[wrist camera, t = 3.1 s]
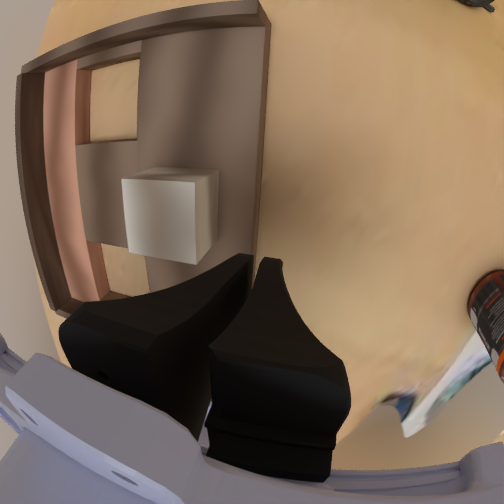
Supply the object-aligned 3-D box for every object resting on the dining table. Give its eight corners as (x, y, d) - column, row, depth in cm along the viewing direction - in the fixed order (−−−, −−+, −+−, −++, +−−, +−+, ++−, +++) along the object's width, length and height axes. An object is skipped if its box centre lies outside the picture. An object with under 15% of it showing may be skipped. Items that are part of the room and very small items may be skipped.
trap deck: (271, 23, 15) (256, -4, 10) (249, 339, 27) (236, 378, 22) (54, 66, 19) (18, 66, 14) (78, 293, 31) (53, 316, 26)
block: (218, 170, 18) (194, 182, 15) (217, 239, 21) (196, 264, 17) (154, 167, 19) (121, 178, 16) (157, 230, 21) (128, 252, 18)
